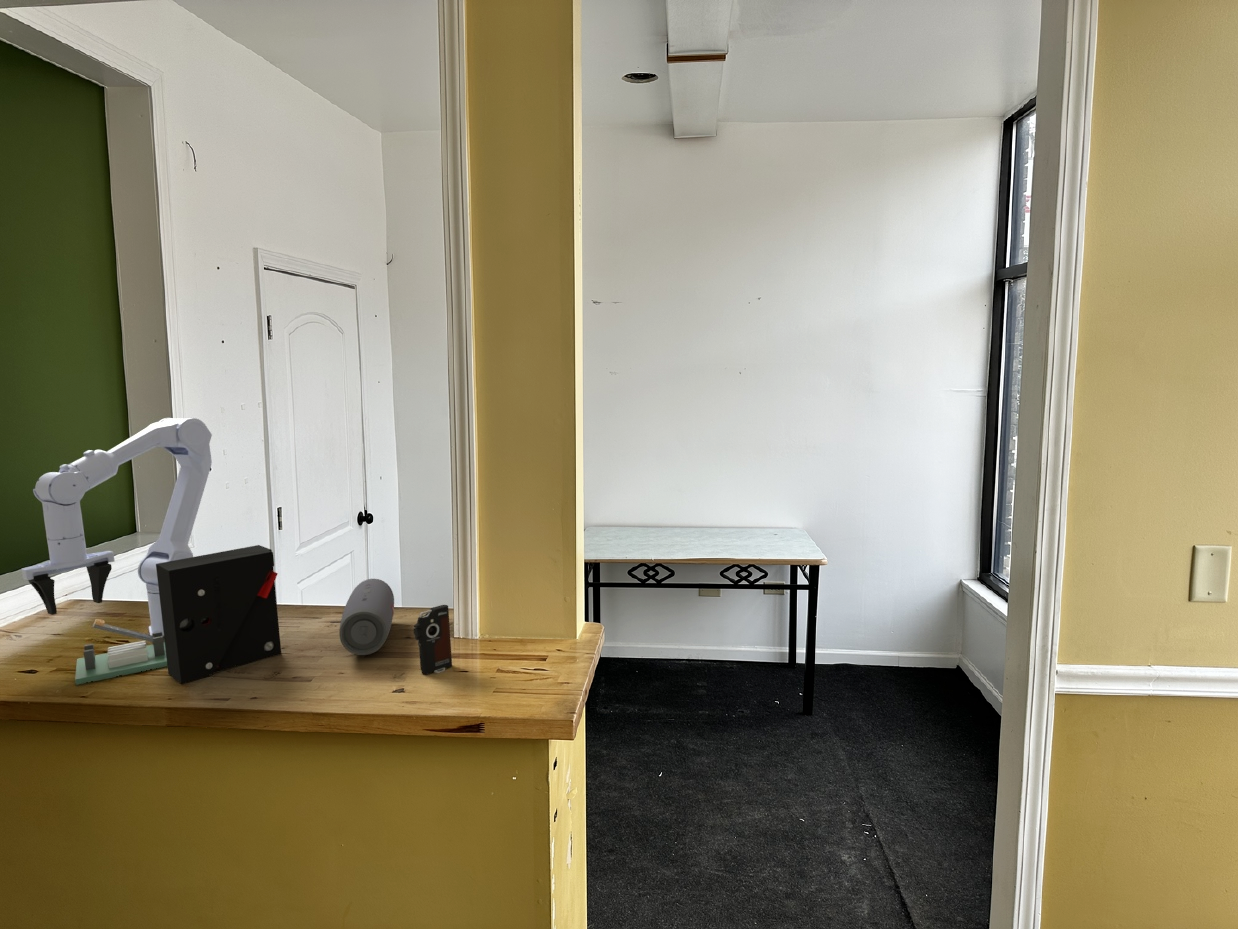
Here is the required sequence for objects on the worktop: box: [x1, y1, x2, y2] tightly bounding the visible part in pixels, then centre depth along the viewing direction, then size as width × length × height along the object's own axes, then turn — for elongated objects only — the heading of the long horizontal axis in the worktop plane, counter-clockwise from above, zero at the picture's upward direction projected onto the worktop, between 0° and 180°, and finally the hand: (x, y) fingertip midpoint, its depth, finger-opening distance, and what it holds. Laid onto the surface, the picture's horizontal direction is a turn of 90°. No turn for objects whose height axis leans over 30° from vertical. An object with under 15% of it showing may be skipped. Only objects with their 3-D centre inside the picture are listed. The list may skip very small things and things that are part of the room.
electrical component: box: [156, 544, 282, 685], centre depth 146 cm, size 18×10×20 cm, turn 135°
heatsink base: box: [74, 631, 168, 686], centre depth 148 cm, size 16×12×4 cm
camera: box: [413, 604, 453, 676], centre depth 140 cm, size 6×3×11 cm, turn 127°
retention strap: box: [92, 618, 155, 643], centre depth 148 cm, size 12×2×1 cm, turn 123°
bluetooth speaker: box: [338, 578, 395, 656], centre depth 156 cm, size 23×9×10 cm, turn 13°
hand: (75, 607), depth 151 cm, fingers open, 7 cm apart
